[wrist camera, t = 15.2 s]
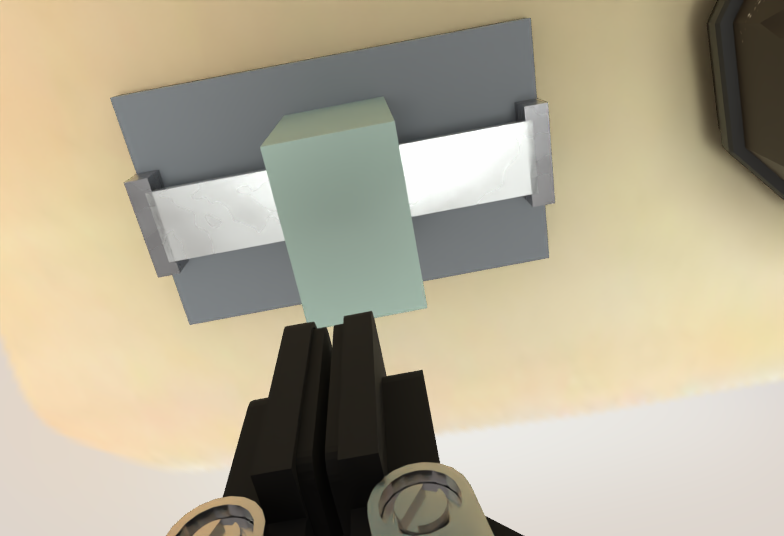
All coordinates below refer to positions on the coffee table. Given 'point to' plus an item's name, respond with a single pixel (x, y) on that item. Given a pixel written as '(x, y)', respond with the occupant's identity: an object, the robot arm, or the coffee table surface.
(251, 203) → the din rail
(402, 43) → the mounting board
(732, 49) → the black canister
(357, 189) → the rail module
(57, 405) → the coffee table surface
